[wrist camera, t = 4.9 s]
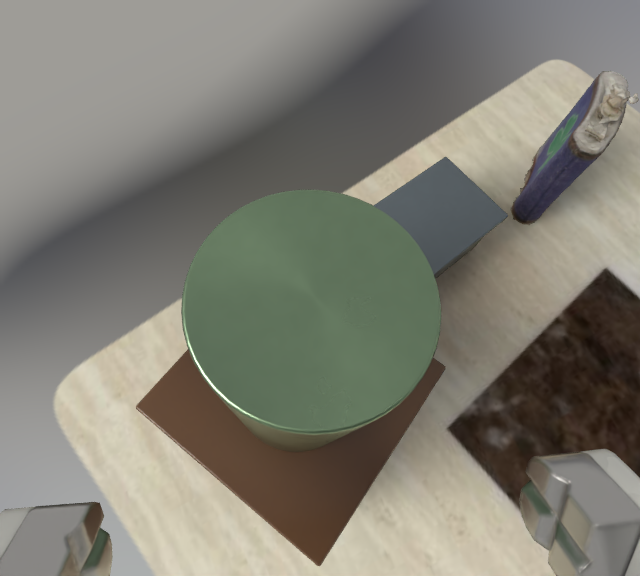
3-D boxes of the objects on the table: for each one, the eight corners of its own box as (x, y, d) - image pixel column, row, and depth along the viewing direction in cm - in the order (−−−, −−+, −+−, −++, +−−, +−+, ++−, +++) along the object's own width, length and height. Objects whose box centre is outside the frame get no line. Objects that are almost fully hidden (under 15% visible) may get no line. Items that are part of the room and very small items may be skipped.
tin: (288, 304, 19) (292, 149, 10) (382, 375, 18) (487, 279, 9) (208, 397, 17) (121, 317, 8) (309, 480, 16) (344, 500, 7)
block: (281, 329, 32) (280, 247, 20) (382, 406, 30) (447, 366, 18) (196, 431, 29) (134, 407, 17) (303, 522, 27) (319, 567, 15)
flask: (538, 144, 41) (621, 42, 31) (567, 159, 40) (661, 59, 30) (504, 216, 37) (585, 126, 27) (536, 232, 37) (629, 147, 27)
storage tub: (424, 196, 37) (446, 155, 32) (478, 249, 36) (508, 215, 31) (340, 256, 34) (349, 221, 30) (393, 316, 33) (413, 290, 28)
